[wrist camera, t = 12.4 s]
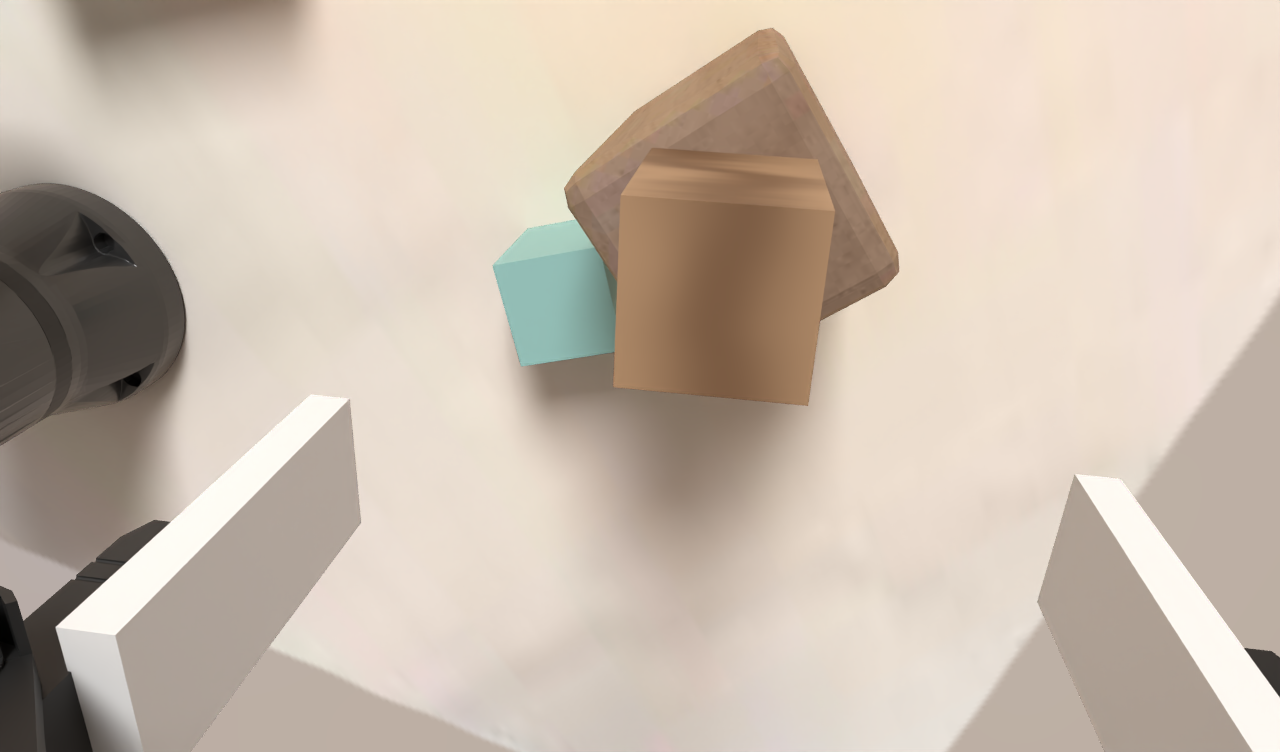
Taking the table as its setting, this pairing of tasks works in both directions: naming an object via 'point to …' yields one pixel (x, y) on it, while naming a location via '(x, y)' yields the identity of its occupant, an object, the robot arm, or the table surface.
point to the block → (743, 124)
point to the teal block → (557, 295)
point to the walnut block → (722, 275)
